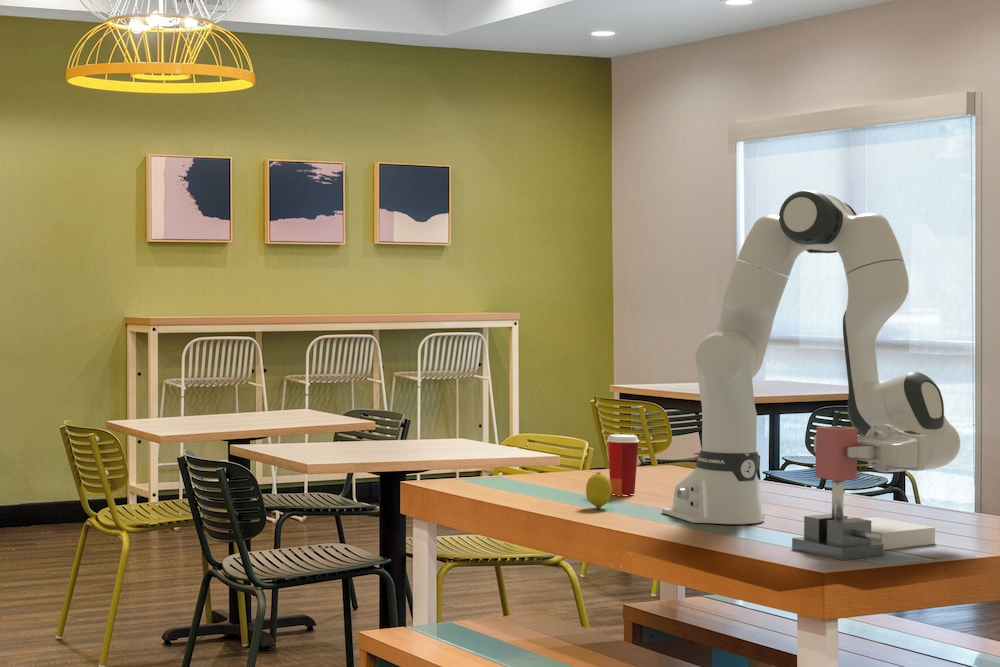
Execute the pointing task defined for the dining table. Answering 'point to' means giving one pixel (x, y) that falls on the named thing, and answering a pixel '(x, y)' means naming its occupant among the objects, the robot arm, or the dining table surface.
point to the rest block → (901, 533)
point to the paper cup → (622, 463)
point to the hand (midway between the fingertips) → (832, 450)
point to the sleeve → (835, 453)
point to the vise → (838, 533)
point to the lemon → (598, 490)
